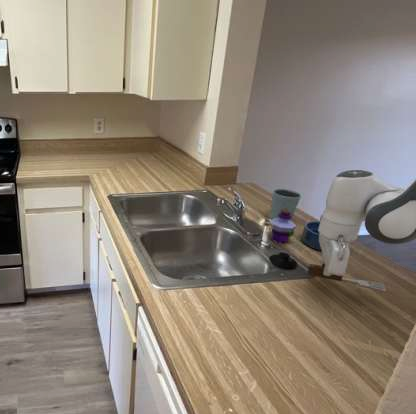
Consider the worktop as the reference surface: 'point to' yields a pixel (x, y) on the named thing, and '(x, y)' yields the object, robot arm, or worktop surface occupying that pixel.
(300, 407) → the worktop surface
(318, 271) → the fork
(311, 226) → the bowl
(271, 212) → the grey-green tapered cup
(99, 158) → the worktop surface
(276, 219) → the potion bottle
